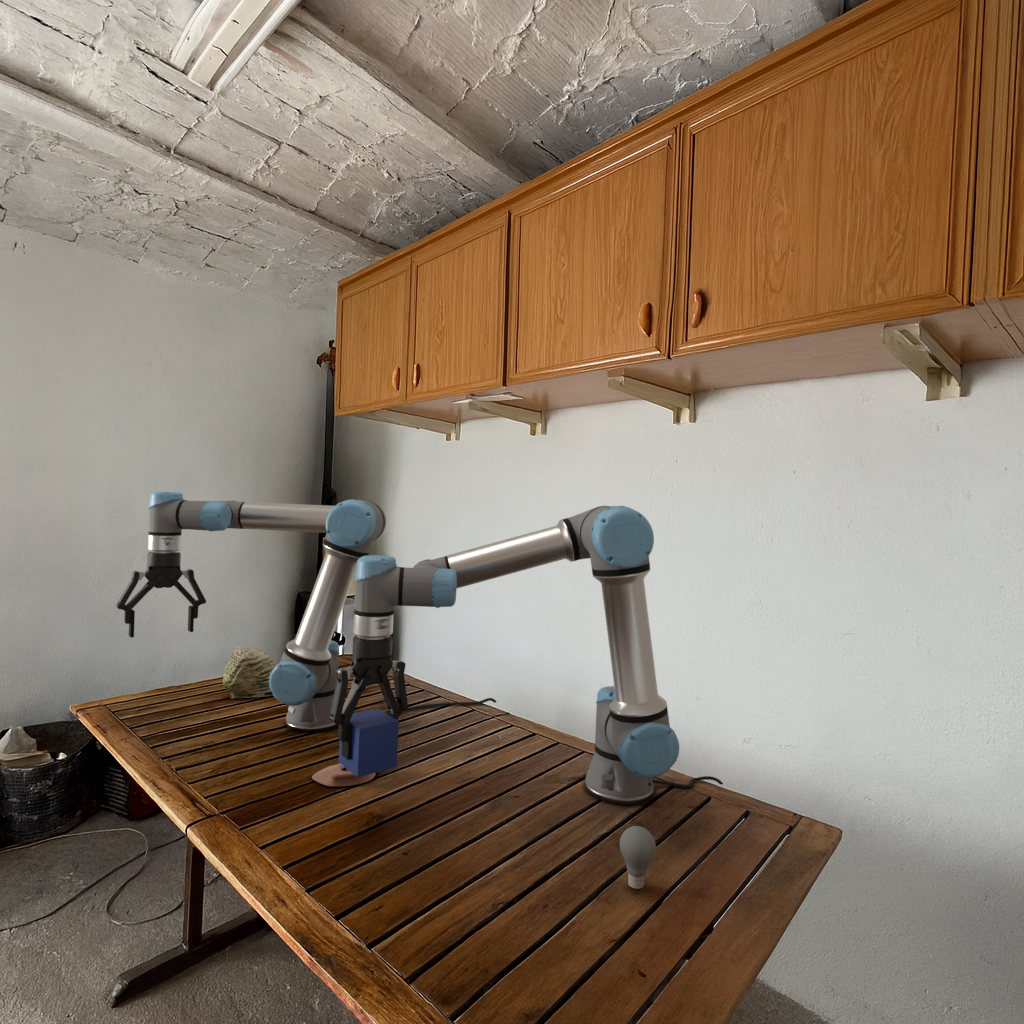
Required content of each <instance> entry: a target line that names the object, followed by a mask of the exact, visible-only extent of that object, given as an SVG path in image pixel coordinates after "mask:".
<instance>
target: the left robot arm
mask: <svg viewBox="0 0 1024 1024" xmlns="http://www.w3.org/2000/svg"><path fill="white" fill-rule="evenodd" d="M147 509H148V535H147V550H148V551H149V552H148V553H147V559H146V560H147V561H146V570H145V571H138V570H133V571H132V573H131V579H130V580H129V583H128V584H127V586H126V587H125V589H124V591H123V593H122V594H121V596H120V597H119V599H118V601H117V603H116V604H115V607H116V608H117V609H118V610H122V611H124V615H123V616H124V617H123V618H124V619H123V622H124V623H125V625H128V637H129V638H134V637H135V617H136V615H135V614H136V613H135V612H136V611H135V610H134V607H136V606H137V605H138V604H139V603H140V601H141V600H142V599H143V598H144V597H145V596H146V595H147V594H148V593H149V592H151V590H152V589H154V588H155V589H163V588H166V589H170V588H173V587H175V588H176V589H177V591H179V592H180V593H181V595H182V596H183V597H184V598H185V599H186V600H187V601H188V603H190V605H188V611H187V612H188V613H187V616H188V617H187V631H188V632H190V633H193V632H194V625H195V619H198V617H199V607H200V606H201V605H205V604H206V603H207V599H206V598H205V596H204V594H203V592H202V590H201V588H200V586H199V584H198V582H197V581H196V578H195V571H194V570H193V569H191V568H187V569H185V570H182V569H181V562H182V561H181V559H182V554H181V552H179V551H182V532H183V531H182V530H194V531H208V532H222V531H226V530H227V529H234V530H236V529H237V530H262V531H278V532H279V531H281V532H301V533H303V532H304V533H320V534H321V533H323V534H325V537H324V540H323V543H322V546H323V548H324V549H325V555H324V558H323V560H322V563H321V565H320V568H319V571H318V574H317V577H316V580H315V583H314V585H313V588H312V590H311V593H310V596H309V599H308V601H307V604H306V607H305V610H304V613H303V615H302V618H301V621H300V624H299V627H298V629H297V633H296V634H295V638H294V639H292V640H290V641H289V642H287V643H286V645H285V647H284V650H283V653H282V656H281V658H280V661H279V663H278V664H275V665H276V667H275V668H274V669H273V671H272V672H271V674H270V677H269V687H270V690H271V692H272V694H273V695H272V696H273V697H274V698H275V699H276V700H277V701H278V702H280V703H281V704H284V705H286V706H288V708H287V713H286V715H285V726H286V728H287V729H289V730H291V731H294V732H295V731H296V732H301V733H316V732H325V731H329V730H332V729H335V728H337V727H339V724H335V723H334V722H332V721H331V720H330V719H329V715H330V710H331V705H332V701H333V696H334V691H335V687H336V682H337V677H336V669H337V668H339V662H340V661H339V660H340V659H339V657H340V645H339V643H338V642H337V641H335V640H332V638H333V635H334V633H335V630H336V627H337V624H338V622H339V619H340V616H341V613H342V611H343V609H344V608H343V607H344V605H345V602H346V600H347V597H348V594H349V591H350V589H351V586H352V584H353V580H354V577H355V576H356V569H357V561H358V559H359V558H361V557H362V556H368V555H370V551H371V548H372V546H373V544H374V541H376V540H377V539H379V538H380V537H381V536H382V535H383V533H384V532H385V530H386V524H387V518H386V514H385V512H384V510H383V509H382V507H381V506H380V505H379V504H377V503H376V502H375V501H371V500H368V499H356V498H355V499H353V498H351V499H345V500H344V501H341V502H338V503H337V504H335V505H328V504H327V505H326V504H325V505H324V504H306V503H305V504H301V503H282V502H281V503H279V502H257V501H256V502H255V501H237V500H186V499H184V495H183V493H182V492H179V491H177V492H176V491H173V492H172V491H153V492H151V494H150V496H149V504H148V508H147ZM182 576H184V578H185V579H187V581H188V582H189V585H190V586H191V588H192V590H193V592H194V594H195V596H196V598H197V599H195V598H194V597H193V595H192V594H190V592H189V591H188V590H187V589H186V588H185V587H184V586H183V584H182V583H181V582H179V580H180V579H181V577H182ZM143 578H145V579H146V580H147V582H145V584H144V585H143V586H142V587H141V588H140V589H139V591H138V592H137V593H135V595H134V596H133V597H132V598H131V599H130V600H129V598H130V597H131V595H132V594H133V591H134V590H135V588H136V587H137V585H138V583H139V581H141V580H142V579H143ZM489 701H490V702H493V703H495V704H496V703H497V700H496V699H494V698H493V697H487V698H484V699H482V700H478V701H457V702H456V701H455V702H438V703H437V702H436V703H428V704H421V705H415V706H408V709H407V710H403V711H402V713H403V712H407V711H412V710H413V711H414V710H418V709H419V710H420V709H425V708H433V707H444V706H470V705H471V706H473V705H481V704H484V703H486V702H489ZM384 712H385V713H388V712H389V713H390V711H389V710H388V711H384Z"/></svg>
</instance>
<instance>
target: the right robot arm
mask: <svg viewBox="0 0 1024 1024" xmlns="http://www.w3.org/2000/svg"><path fill="white" fill-rule="evenodd" d="M654 543H655V535H654V531H653V527H652V525H651V524H650V522H649V520H648V519H647V518H646V516H645V515H644V514H643V513H641V512H640V511H638V510H636V509H634V508H632V507H629V506H624V505H599V506H596V507H593V508H590V509H588V510H586V511H583V512H580V513H578V514H575V515H572V516H569V517H566V518H562V519H559V520H558V522H557V524H556V525H554V526H550V527H547V528H543V529H540V530H536V531H531V532H528V533H524V534H520V535H518V536H513V537H510V538H506V539H503V540H499V541H496V542H491V543H487V544H484V545H481V546H476V547H473V548H469V549H466V550H462V551H458V552H454V553H451V554H447V555H444V556H441V557H437V558H432V559H423V560H421V561H418V562H416V564H414V566H413V567H403V566H398V564H397V559H396V558H395V557H394V556H390V555H378V554H377V555H376V554H373V555H372V554H368V556H362V557H361V558H359V559H358V561H357V569H356V572H355V579H354V607H353V608H354V609H353V610H354V611H353V629H352V632H353V635H355V636H354V637H352V649H351V650H352V653H351V655H352V660H351V663H350V666H347V667H344V668H342V667H338V668H337V669H336V677H337V682H336V687H335V691H334V696H333V701H332V705H331V710H330V715H329V719H330V720H331V721H332V722H334V723H335V724H339V726H338V733H337V734H338V735H337V738H338V740H339V742H340V741H341V742H342V756H343V757H345V758H346V759H347V760H350V759H351V756H352V733H353V725H352V724H351V723H349V722H350V719H351V717H352V715H353V713H355V710H356V707H357V705H358V704H359V701H360V698H361V696H362V694H363V692H365V690H366V688H367V686H372V685H373V684H375V685H378V686H379V689H380V691H381V694H382V696H383V699H384V701H385V704H386V707H387V709H388V711H390V713H389V712H388V711H387V712H388V713H387V714H388V715H390V716H392V717H393V718H395V719H397V720H398V721H399V718H400V716H402V714H403V712H404V711H403V710H407V709H408V707H409V703H408V695H407V687H406V679H405V670H406V662H405V661H402V660H400V659H394V660H393V658H392V655H393V637H392V636H391V635H392V634H393V633H394V612H395V606H398V607H425V608H426V607H428V608H436V609H440V608H450V607H453V606H455V604H456V602H457V589H461V588H464V587H467V586H471V585H475V584H479V583H483V582H486V581H489V580H494V579H497V578H500V577H504V576H508V575H512V574H515V573H518V572H523V571H527V570H530V569H534V568H537V567H540V566H544V565H548V564H552V563H557V562H559V561H562V560H566V561H569V562H571V563H572V562H576V561H580V560H587V559H590V565H591V573H592V577H593V578H594V579H595V580H597V582H599V583H600V584H601V585H600V586H601V593H602V601H603V609H604V616H605V623H606V630H607V640H608V647H609V648H608V649H609V655H610V663H611V672H612V680H613V685H609V686H604V687H601V688H599V690H598V691H597V696H596V697H597V698H596V701H595V703H596V712H595V733H594V737H595V738H594V753H593V756H592V757H591V761H590V764H589V767H588V768H587V772H586V775H585V778H584V787H585V790H586V791H587V792H588V793H589V794H590V795H591V796H592V797H594V798H596V799H598V800H600V801H603V802H606V803H610V804H615V805H621V806H622V805H623V806H627V805H628V806H631V805H632V806H633V805H640V804H644V803H647V802H648V801H650V800H651V799H653V796H654V784H659V785H664V786H665V785H666V786H670V787H677V788H682V789H690V788H691V787H692V786H693V784H694V783H695V782H699V781H706V780H708V781H709V780H710V781H714V782H717V783H718V784H719V785H724V783H723V782H722V781H721V780H720V779H719V778H718V777H716V776H711V775H706V776H705V775H704V776H699V777H693V778H691V779H690V780H689V783H688V784H684V783H683V784H682V783H676V782H672V781H665V780H659V779H654V778H657V777H658V778H659V777H660V776H662V775H665V774H666V773H668V771H670V770H671V768H672V767H673V765H675V764H676V762H677V761H678V758H679V754H680V742H679V741H680V740H679V738H678V736H677V734H676V732H675V730H674V729H673V728H672V727H671V726H670V718H669V710H668V702H667V700H666V699H665V698H663V697H662V696H661V695H660V694H659V691H658V682H657V676H656V667H655V659H654V658H655V657H654V651H653V643H652V634H651V626H650V625H651V624H650V618H649V610H648V603H647V601H648V600H647V594H646V587H645V586H646V585H645V578H646V577H647V576H648V574H649V573H650V572H651V564H650V563H651V562H650V555H651V553H652V552H653V549H654ZM390 671H392V679H393V686H394V692H393V690H392V687H391V681H390V679H389V677H388V674H389V673H390ZM351 675H353V676H354V677H353V680H352V682H351V687H350V690H349V692H348V694H347V691H348V687H349V680H350V679H351ZM394 693H395V694H394ZM346 696H347V697H346ZM402 711H403V712H402Z"/></svg>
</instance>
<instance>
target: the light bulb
mask: <svg viewBox="0 0 1024 1024" xmlns="http://www.w3.org/2000/svg"><path fill="white" fill-rule="evenodd" d="M619 851H620V854H621V855H622V858H623V859H624V862H625V863H626V870H627V873H628V875H627V877H628V878H627V884H628V886H629V887H630V888H632V889H635V890H640V889H642V888H644V885H645V875H646V873H647V870H648V867H649V865H650V863H651V862H652V861H653V859H654V857H655V855H656V852H657V844H656V840H655V839H654V836H653V835H652V833H651V832H650V830H648V829H647V828H645V827H643V826H640V825H632V826H630V827H627V828H626V829H625V830H624V831H623V832H622V834H621V835H620V838H619Z"/></svg>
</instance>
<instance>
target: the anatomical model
mask: <svg viewBox="0 0 1024 1024" xmlns="http://www.w3.org/2000/svg"><path fill="white" fill-rule="evenodd" d="M376 773H377V772H376ZM376 773H373V774H369V775H365V776H361V777H357V776H355V775H354V774H353V773H352V772H350V771H349V770H348V769H347V768H346V767H344V766H343V765H342V764H341V763H340V762H339V763H337V764H332V765H329V766H326V767H324V768H322V769H320V770H318V771H317V772H315V773H314V774H313V775H312V776H311V779H312V780H313V781H315V782H317V783H318V784H321V785H323V786H327V787H333V788H334V787H347V786H356V785H361V784H364V783H367V782H369V781H372V780H373V779H374V778H375V776H376Z"/></svg>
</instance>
